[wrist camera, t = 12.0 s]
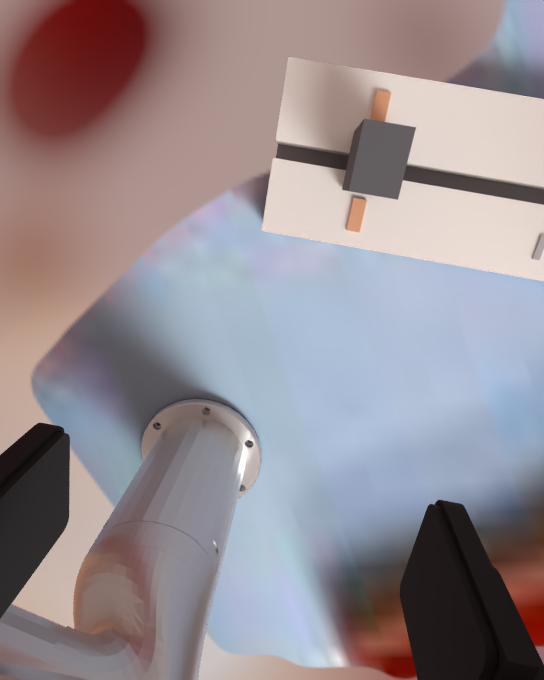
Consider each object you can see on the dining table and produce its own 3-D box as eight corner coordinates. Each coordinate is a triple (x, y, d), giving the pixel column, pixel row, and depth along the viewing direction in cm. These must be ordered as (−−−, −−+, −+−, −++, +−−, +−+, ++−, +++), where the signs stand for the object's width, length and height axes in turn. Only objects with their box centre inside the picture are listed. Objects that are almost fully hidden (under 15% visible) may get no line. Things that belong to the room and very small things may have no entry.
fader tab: (376, 196, 36) (397, 199, 27) (339, 189, 36) (348, 191, 27) (388, 142, 34) (416, 127, 25) (350, 136, 34) (364, 118, 25)
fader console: (564, 279, 38) (594, 290, 34) (266, 226, 38) (261, 231, 34) (625, 126, 34) (668, 118, 30) (290, 70, 34) (287, 54, 30)
